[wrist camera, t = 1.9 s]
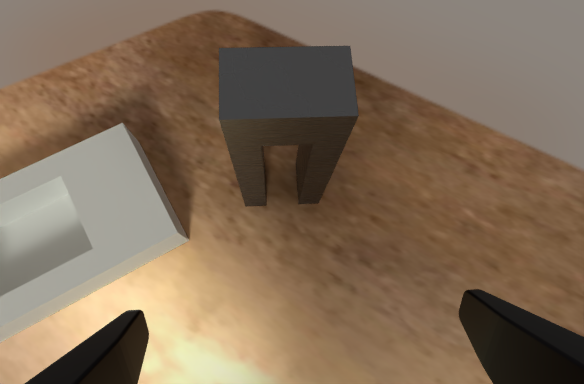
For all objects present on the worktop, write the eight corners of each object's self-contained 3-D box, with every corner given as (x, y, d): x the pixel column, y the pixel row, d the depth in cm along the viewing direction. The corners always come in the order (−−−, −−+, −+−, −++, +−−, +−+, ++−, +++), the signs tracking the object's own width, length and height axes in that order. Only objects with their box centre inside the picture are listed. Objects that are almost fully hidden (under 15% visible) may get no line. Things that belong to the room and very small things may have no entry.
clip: (318, 203, 25) (358, 116, 13) (245, 206, 25) (219, 119, 13) (315, 162, 26) (350, 45, 14) (244, 164, 26) (219, 48, 14)
